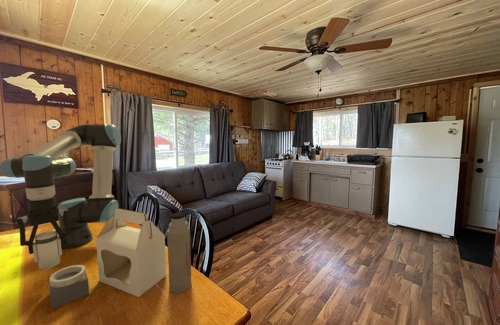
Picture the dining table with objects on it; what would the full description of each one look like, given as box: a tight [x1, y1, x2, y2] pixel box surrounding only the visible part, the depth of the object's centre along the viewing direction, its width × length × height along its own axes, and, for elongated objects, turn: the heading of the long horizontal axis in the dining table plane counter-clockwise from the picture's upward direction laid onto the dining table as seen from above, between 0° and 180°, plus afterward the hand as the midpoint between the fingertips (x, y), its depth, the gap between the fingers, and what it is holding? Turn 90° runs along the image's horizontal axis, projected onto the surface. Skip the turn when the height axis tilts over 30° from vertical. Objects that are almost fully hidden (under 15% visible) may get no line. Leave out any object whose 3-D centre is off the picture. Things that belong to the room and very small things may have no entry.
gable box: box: [95, 207, 167, 298], centre depth 84 cm, size 22×13×28 cm, turn 67°
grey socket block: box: [48, 264, 90, 310], centre depth 77 cm, size 10×10×8 cm
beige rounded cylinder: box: [34, 230, 61, 270], centre depth 80 cm, size 6×6×12 cm
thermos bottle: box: [166, 212, 192, 294], centre depth 80 cm, size 8×8×28 cm
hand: (48, 257), depth 81 cm, fingers closed on beige rounded cylinder, 6 cm apart
